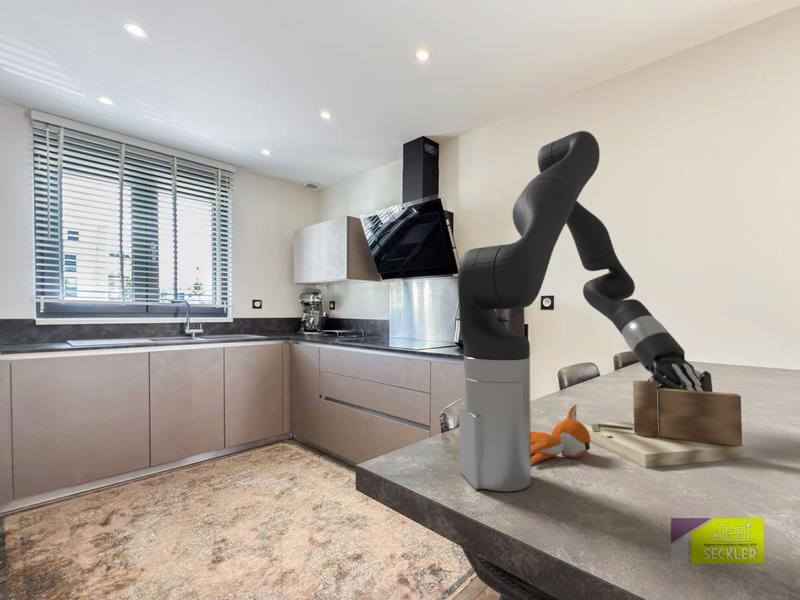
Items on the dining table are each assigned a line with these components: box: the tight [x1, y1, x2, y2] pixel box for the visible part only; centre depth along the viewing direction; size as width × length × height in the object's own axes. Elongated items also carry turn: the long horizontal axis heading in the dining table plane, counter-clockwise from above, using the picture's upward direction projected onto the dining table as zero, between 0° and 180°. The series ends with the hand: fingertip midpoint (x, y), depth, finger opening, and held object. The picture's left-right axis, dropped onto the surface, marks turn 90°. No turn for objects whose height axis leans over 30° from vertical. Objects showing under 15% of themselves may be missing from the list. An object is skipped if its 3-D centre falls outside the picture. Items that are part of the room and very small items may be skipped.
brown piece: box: [598, 380, 743, 446], centre depth 67 cm, size 21×4×9 cm, turn 64°
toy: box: [531, 404, 591, 467], centre depth 68 cm, size 8×22×15 cm
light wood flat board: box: [582, 420, 750, 468], centre depth 68 cm, size 20×16×2 cm
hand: (712, 420), depth 65 cm, fingers closed
